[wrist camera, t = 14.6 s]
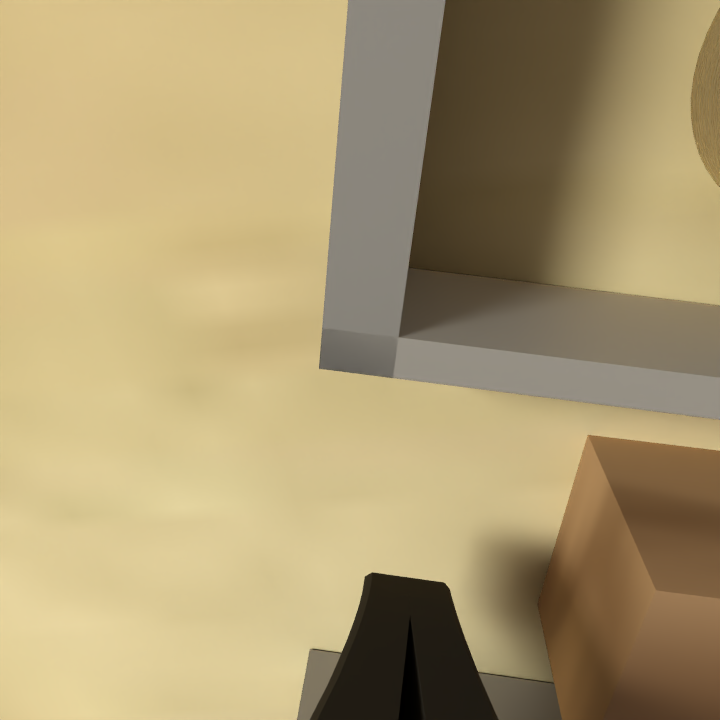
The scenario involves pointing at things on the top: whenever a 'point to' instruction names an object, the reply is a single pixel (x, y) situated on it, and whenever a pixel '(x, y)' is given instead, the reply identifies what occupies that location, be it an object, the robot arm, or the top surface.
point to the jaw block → (637, 585)
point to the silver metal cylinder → (708, 101)
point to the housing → (472, 291)
